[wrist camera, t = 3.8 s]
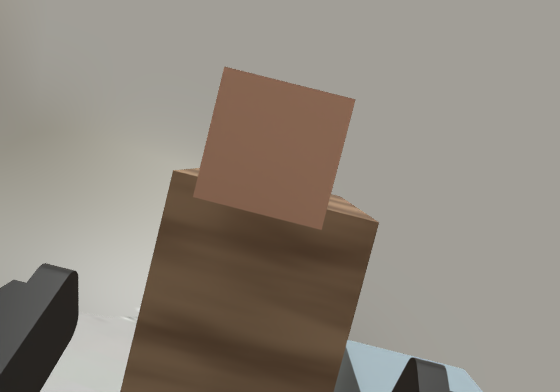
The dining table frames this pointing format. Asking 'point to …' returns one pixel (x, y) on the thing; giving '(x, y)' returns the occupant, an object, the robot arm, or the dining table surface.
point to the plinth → (247, 298)
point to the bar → (273, 148)
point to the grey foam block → (386, 371)
